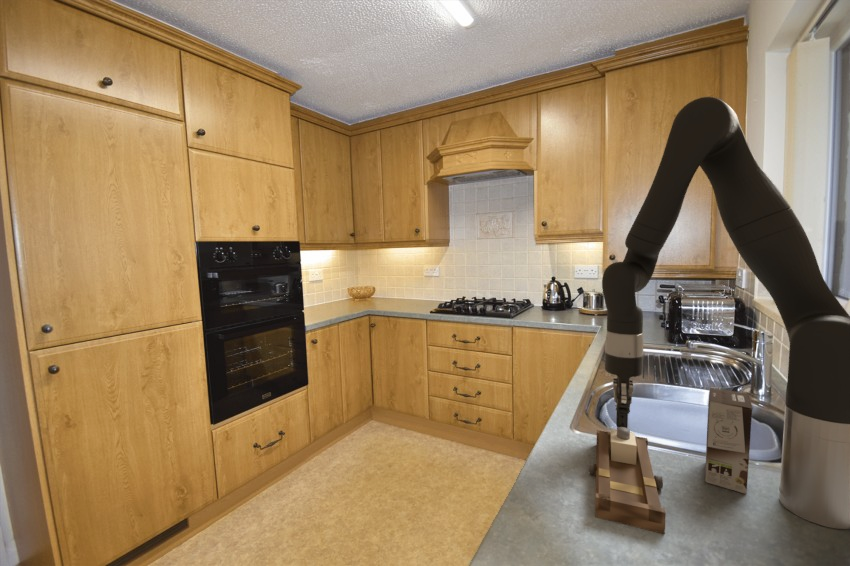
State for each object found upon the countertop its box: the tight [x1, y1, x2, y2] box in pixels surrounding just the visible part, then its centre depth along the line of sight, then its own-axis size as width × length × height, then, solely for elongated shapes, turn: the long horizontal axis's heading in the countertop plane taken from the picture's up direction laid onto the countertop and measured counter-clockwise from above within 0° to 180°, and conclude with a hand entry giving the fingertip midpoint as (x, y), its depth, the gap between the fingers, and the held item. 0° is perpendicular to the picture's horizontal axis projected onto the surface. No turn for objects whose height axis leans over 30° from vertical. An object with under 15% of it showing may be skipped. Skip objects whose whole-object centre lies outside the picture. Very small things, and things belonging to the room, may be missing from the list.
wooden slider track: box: [588, 429, 667, 535], centre depth 75 cm, size 12×26×4 cm, turn 156°
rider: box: [610, 427, 637, 465], centre depth 81 cm, size 4×6×6 cm
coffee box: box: [704, 387, 753, 494], centre depth 75 cm, size 9×6×16 cm
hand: (621, 427), depth 88 cm, fingers closed
